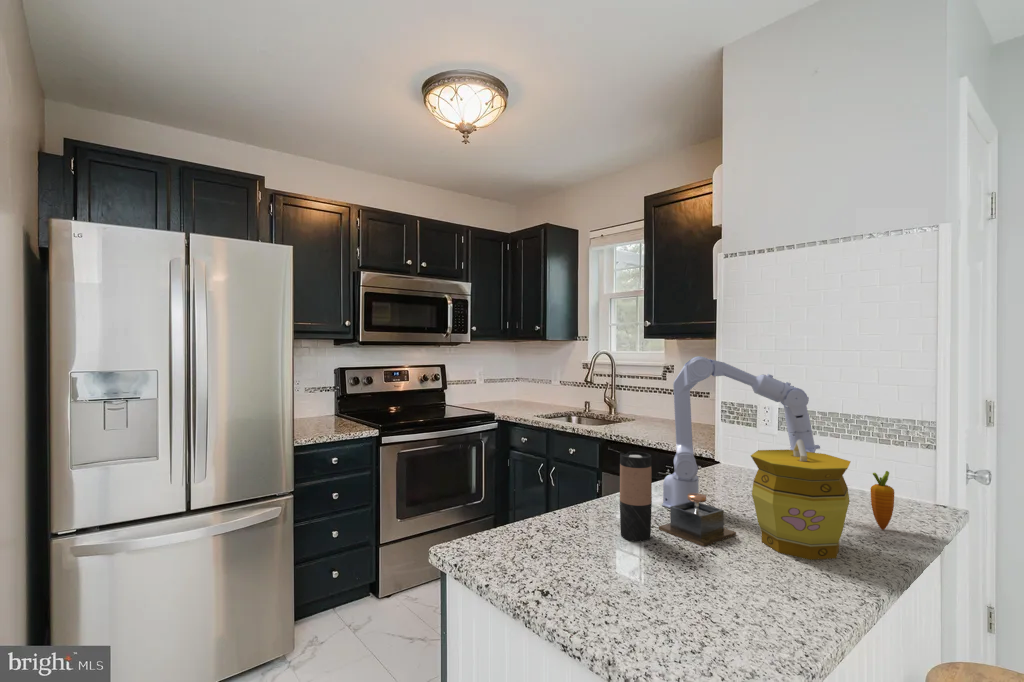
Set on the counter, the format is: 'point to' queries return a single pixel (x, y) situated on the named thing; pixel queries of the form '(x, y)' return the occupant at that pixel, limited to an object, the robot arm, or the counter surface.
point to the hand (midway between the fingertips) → (809, 481)
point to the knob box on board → (697, 524)
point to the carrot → (882, 501)
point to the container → (800, 501)
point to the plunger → (697, 503)
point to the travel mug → (635, 496)
